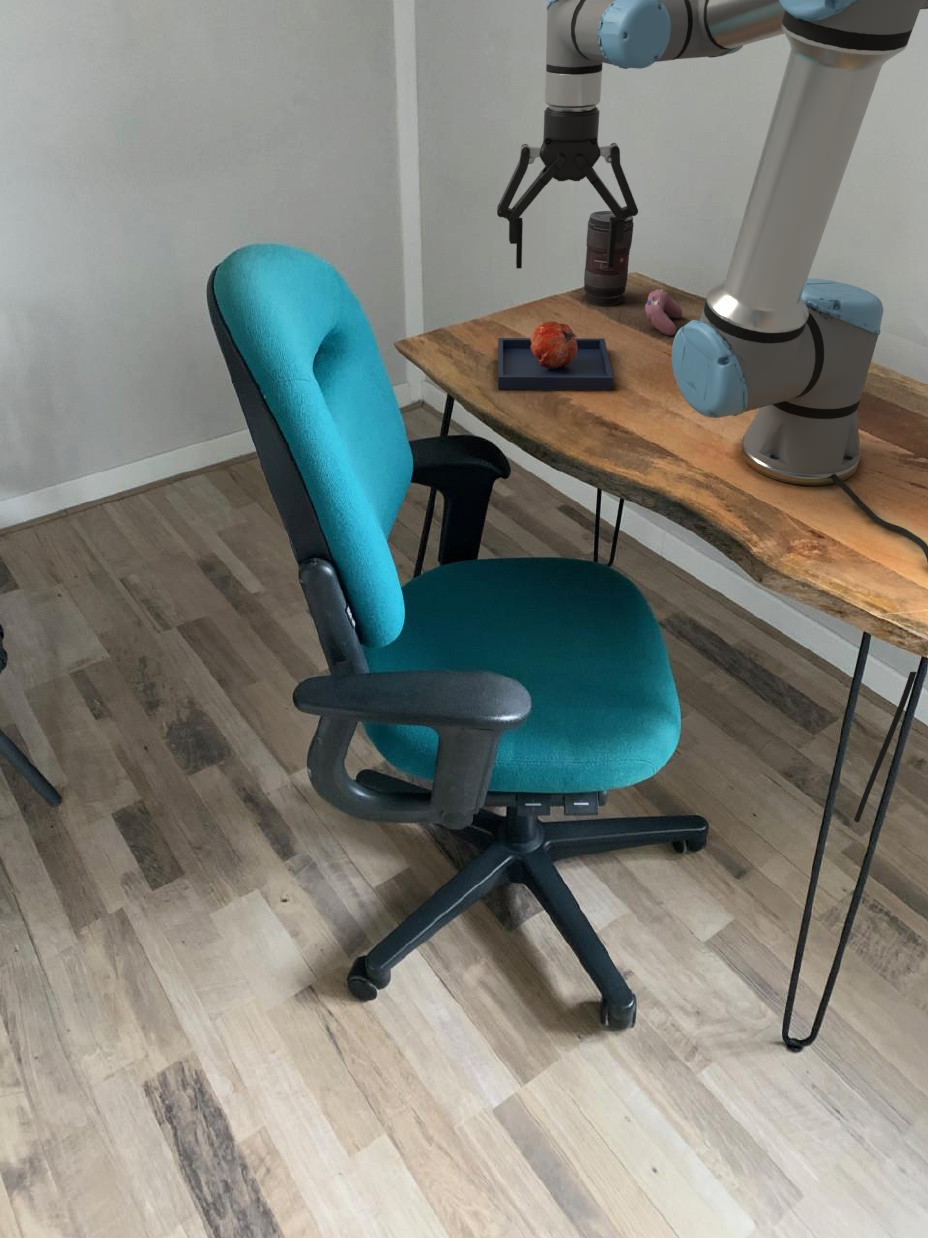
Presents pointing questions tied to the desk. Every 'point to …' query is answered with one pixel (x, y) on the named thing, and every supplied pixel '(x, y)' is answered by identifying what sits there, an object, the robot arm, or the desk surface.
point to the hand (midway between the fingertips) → (564, 265)
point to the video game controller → (662, 311)
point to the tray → (528, 374)
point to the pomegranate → (553, 344)
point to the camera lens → (598, 278)
